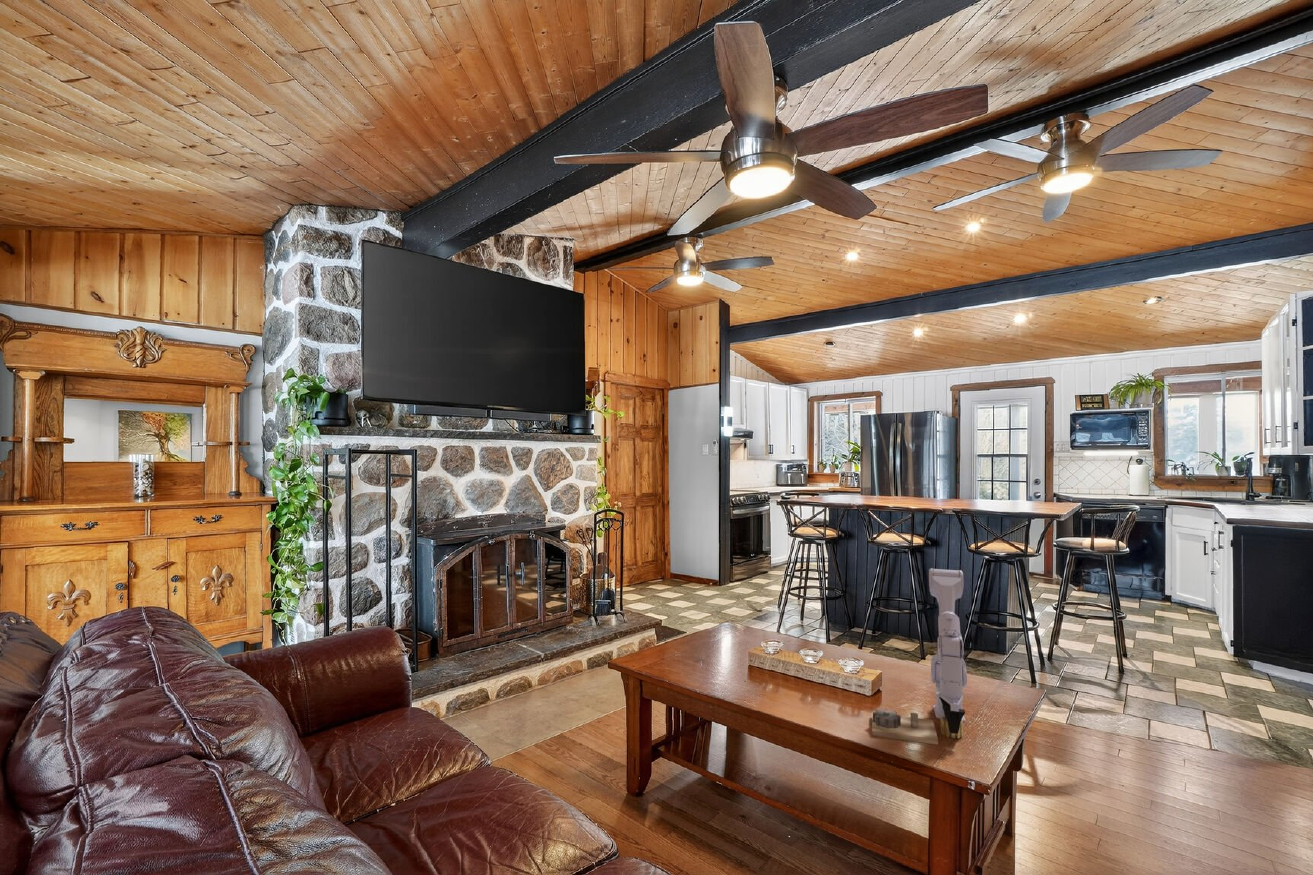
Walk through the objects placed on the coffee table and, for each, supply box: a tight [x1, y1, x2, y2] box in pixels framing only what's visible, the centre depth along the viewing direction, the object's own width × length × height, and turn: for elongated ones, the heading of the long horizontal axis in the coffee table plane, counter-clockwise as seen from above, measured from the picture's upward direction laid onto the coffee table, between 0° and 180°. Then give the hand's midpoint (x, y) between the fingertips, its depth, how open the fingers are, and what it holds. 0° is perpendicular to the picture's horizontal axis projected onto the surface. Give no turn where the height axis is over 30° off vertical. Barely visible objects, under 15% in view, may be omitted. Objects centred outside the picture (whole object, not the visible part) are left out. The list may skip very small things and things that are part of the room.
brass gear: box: [940, 716, 964, 739], centre depth 173 cm, size 6×6×4 cm
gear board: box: [871, 708, 939, 746], centre depth 175 cm, size 13×17×5 cm
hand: (951, 727), depth 173 cm, fingers open, 7 cm apart
